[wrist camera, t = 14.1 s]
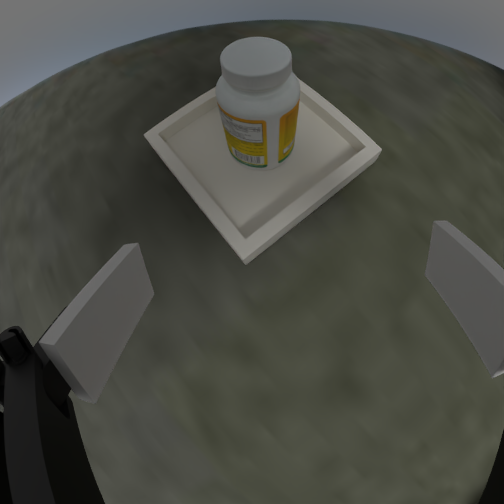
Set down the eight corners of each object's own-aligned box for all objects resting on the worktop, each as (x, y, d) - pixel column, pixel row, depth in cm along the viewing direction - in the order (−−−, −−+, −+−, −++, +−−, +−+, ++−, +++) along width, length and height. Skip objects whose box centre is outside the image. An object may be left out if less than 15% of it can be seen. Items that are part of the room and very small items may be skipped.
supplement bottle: (239, 181, 22) (218, 95, 12) (221, 130, 23) (197, 44, 13) (304, 161, 22) (320, 72, 12) (280, 113, 23) (281, 25, 13)
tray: (269, 72, 25) (269, 58, 23) (374, 161, 22) (382, 149, 20) (151, 146, 24) (143, 134, 22) (245, 265, 21) (242, 260, 19)
